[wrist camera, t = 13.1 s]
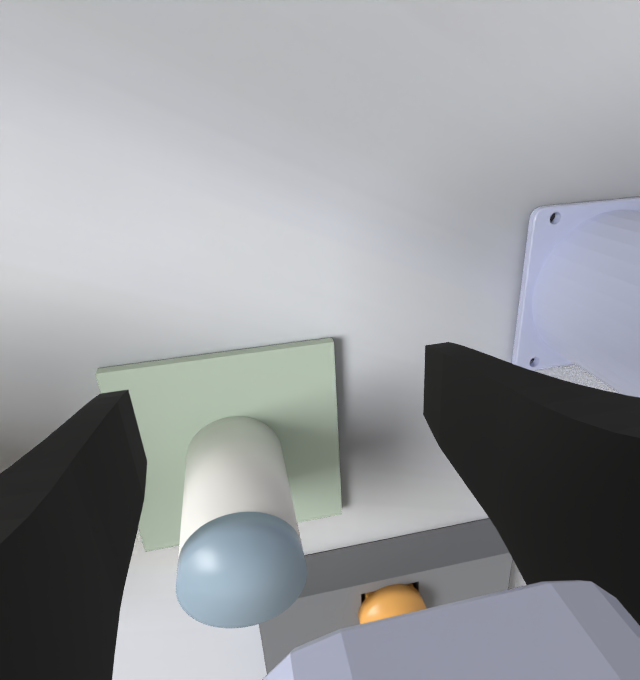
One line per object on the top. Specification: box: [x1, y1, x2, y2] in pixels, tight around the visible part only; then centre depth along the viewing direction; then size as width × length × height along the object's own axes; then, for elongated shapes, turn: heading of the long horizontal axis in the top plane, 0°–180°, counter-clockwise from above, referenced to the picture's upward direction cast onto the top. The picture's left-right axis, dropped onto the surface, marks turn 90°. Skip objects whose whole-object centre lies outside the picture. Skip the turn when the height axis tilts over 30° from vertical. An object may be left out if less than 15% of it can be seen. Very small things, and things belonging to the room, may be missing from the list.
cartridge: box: [176, 416, 307, 628], centre depth 20 cm, size 4×4×7 cm
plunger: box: [358, 583, 427, 624], centre depth 27 cm, size 4×4×3 cm
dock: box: [259, 518, 513, 674], centre depth 29 cm, size 14×12×2 cm
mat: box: [95, 338, 342, 552], centre depth 23 cm, size 10×10×1 cm
